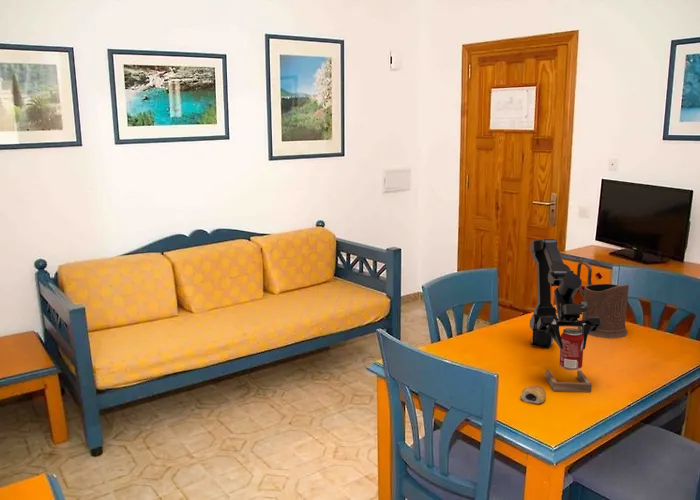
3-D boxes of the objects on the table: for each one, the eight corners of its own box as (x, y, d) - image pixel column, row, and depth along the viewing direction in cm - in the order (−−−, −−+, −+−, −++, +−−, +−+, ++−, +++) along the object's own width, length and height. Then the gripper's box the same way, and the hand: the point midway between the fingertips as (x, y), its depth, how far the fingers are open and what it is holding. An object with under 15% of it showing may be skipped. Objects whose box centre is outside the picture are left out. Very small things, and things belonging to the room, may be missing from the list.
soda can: (578, 373, 188) (580, 336, 185) (556, 368, 192) (558, 332, 189) (584, 365, 193) (586, 329, 190) (563, 361, 197) (564, 326, 194)
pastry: (527, 389, 190) (528, 378, 189) (549, 394, 187) (550, 383, 186) (519, 401, 182) (520, 389, 181) (542, 406, 179) (543, 394, 178)
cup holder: (603, 341, 230) (609, 277, 224) (557, 322, 251) (561, 263, 246) (638, 334, 237) (645, 271, 232) (590, 316, 259) (595, 258, 253)
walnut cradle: (544, 376, 199) (545, 369, 198) (580, 377, 198) (581, 370, 197) (553, 391, 188) (553, 383, 188) (591, 392, 187) (591, 384, 187)
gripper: (541, 291, 192) (548, 337, 183) (602, 292, 191) (611, 338, 182) (533, 307, 201) (540, 352, 193) (591, 308, 200) (600, 353, 192)
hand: (572, 348), depth 190 cm, fingers closed on soda can, 6 cm apart
